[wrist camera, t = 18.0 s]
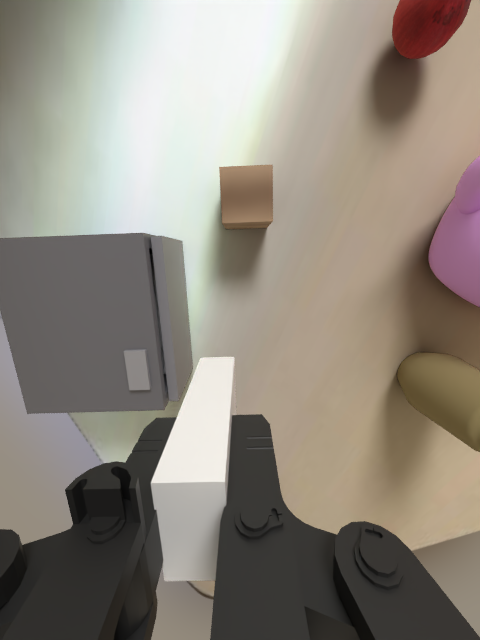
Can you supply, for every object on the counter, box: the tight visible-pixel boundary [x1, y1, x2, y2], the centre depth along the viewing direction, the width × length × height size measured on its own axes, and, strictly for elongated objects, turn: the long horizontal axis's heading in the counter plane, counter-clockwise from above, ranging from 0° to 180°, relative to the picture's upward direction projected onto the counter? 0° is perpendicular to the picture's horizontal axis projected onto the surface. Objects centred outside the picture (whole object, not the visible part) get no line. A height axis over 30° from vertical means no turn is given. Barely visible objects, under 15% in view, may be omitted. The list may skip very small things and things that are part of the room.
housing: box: [0, 233, 169, 414], centre depth 29 cm, size 17×14×10 cm
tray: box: [150, 236, 193, 401], centre depth 30 cm, size 17×14×8 cm
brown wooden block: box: [219, 165, 273, 229], centre depth 28 cm, size 5×5×6 cm
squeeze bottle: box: [397, 352, 480, 452], centre depth 27 cm, size 8×8×18 cm
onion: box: [392, 0, 471, 59], centre depth 23 cm, size 6×6×8 cm
